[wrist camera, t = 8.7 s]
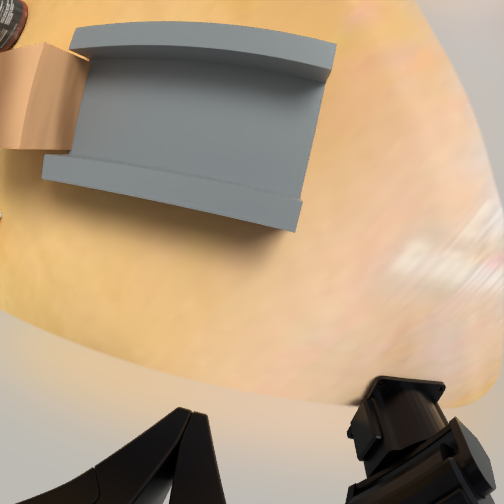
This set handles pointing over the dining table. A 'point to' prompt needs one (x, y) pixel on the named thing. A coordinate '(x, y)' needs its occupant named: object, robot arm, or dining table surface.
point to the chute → (198, 116)
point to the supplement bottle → (11, 21)
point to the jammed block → (40, 97)
